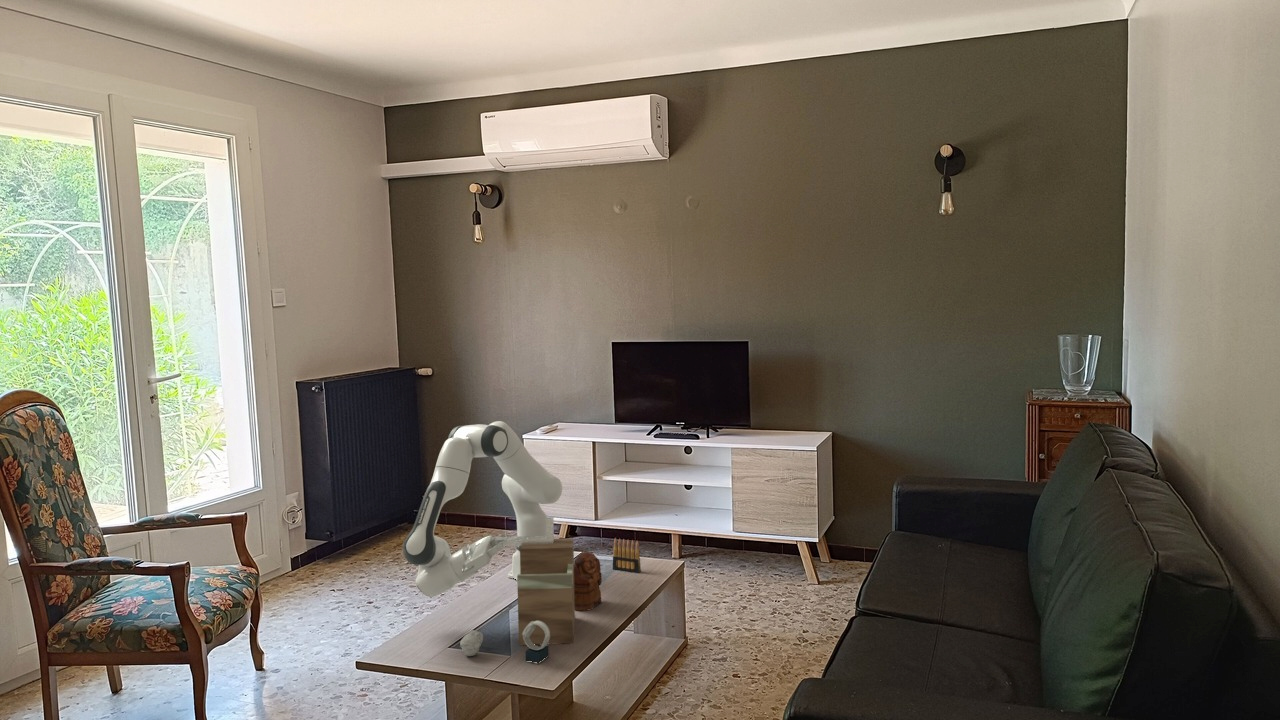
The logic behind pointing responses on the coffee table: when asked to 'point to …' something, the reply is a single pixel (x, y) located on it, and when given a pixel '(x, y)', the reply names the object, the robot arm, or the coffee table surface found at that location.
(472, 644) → the white rough round lump
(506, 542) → the aluminium bracket
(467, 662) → the coffee table surface
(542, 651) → the watch
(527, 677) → the coffee table surface
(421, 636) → the coffee table surface
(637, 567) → the ammunition clip
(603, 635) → the coffee table surface
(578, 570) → the wooden figurine
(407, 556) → the robot arm
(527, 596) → the stepped shelf
